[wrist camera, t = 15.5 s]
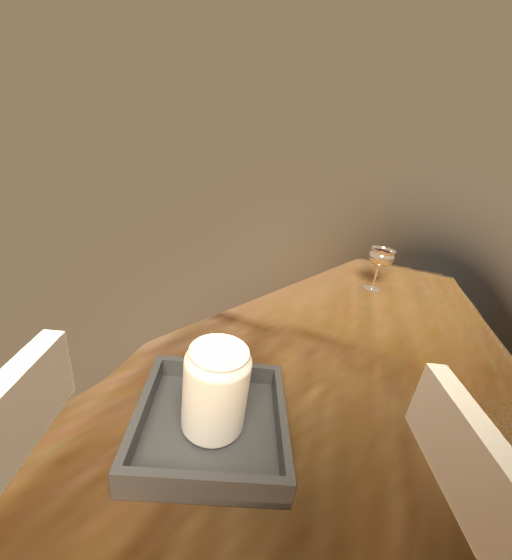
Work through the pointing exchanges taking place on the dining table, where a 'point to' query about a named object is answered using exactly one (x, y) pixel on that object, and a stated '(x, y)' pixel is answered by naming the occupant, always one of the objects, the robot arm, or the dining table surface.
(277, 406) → the bin
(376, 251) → the wineglass
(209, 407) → the beverage can
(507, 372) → the dining table surface
